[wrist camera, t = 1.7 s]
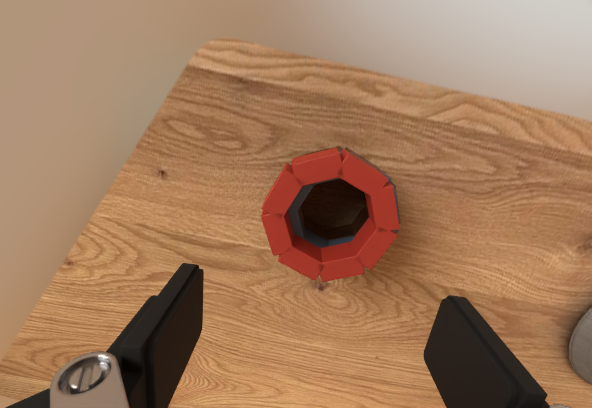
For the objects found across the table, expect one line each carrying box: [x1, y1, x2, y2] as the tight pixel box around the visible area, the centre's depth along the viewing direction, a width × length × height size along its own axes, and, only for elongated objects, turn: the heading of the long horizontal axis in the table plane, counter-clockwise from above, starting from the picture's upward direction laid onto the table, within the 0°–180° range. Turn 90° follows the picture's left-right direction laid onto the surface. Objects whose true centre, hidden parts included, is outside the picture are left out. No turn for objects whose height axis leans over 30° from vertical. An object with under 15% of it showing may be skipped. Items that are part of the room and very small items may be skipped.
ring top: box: [261, 148, 400, 282], centre depth 21 cm, size 9×9×2 cm
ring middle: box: [288, 151, 400, 248], centre depth 24 cm, size 9×9×2 cm
